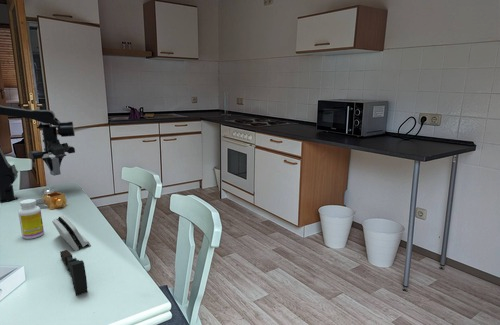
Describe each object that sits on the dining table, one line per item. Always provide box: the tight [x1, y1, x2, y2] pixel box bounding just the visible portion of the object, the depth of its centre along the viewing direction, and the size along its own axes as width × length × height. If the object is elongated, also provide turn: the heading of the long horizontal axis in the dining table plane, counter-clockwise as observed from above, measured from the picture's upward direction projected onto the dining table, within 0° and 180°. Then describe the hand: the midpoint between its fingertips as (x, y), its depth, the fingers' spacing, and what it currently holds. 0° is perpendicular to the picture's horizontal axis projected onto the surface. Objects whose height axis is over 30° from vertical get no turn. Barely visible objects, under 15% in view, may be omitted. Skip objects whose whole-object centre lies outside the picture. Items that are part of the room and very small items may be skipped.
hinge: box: [52, 214, 92, 252], centre depth 119 cm, size 17×5×10 cm, turn 43°
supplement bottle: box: [18, 198, 45, 240], centre depth 124 cm, size 7×7×13 cm
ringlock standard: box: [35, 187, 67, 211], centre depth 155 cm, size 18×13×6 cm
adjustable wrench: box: [59, 249, 89, 297], centre depth 100 cm, size 8×3×25 cm
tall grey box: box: [49, 156, 61, 176], centre depth 167 cm, size 4×3×8 cm
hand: (54, 170), depth 168 cm, fingers closed on tall grey box, 3 cm apart
